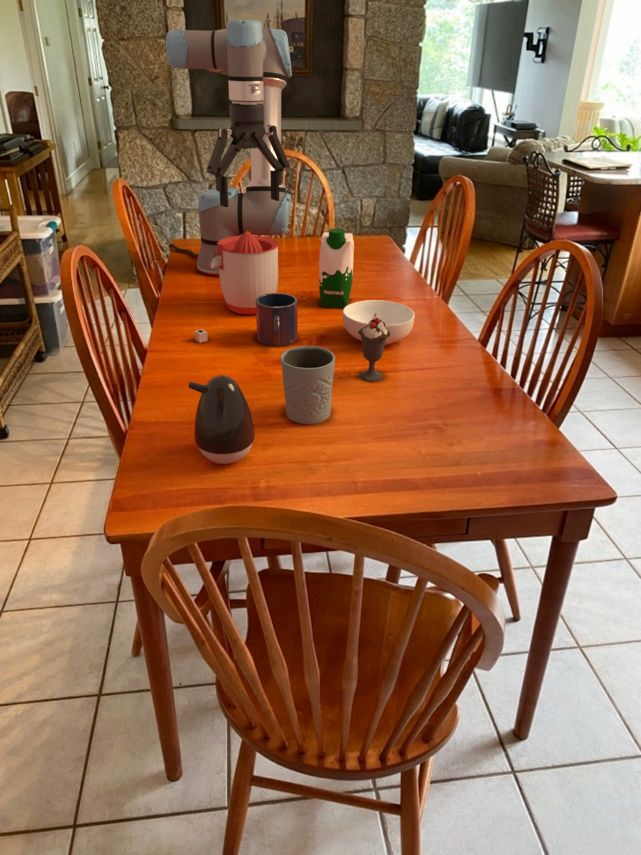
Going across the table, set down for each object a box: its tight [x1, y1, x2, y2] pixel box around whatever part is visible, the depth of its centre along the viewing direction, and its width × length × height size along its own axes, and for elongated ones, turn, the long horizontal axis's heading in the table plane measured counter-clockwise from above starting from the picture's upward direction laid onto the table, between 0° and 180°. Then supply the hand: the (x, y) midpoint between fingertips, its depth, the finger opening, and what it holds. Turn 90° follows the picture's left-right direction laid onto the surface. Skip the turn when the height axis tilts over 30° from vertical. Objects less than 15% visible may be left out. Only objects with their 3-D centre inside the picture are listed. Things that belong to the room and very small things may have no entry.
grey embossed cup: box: [280, 345, 336, 425], centre depth 125 cm, size 10×10×12 cm
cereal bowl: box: [342, 299, 416, 346], centre depth 157 cm, size 17×17×7 cm
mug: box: [255, 292, 298, 347], centre depth 155 cm, size 13×10×10 cm
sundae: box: [358, 313, 390, 382], centre depth 138 cm, size 7×7×15 cm
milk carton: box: [318, 228, 355, 309], centre depth 174 cm, size 9×9×20 cm
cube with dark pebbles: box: [194, 328, 209, 344], centre depth 156 cm, size 2×2×2 cm
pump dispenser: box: [187, 374, 256, 465], centre depth 111 cm, size 10×10×15 cm
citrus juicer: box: [211, 231, 280, 315], centre depth 170 cm, size 16×17×20 cm
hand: (250, 203), depth 156 cm, fingers open, 13 cm apart
